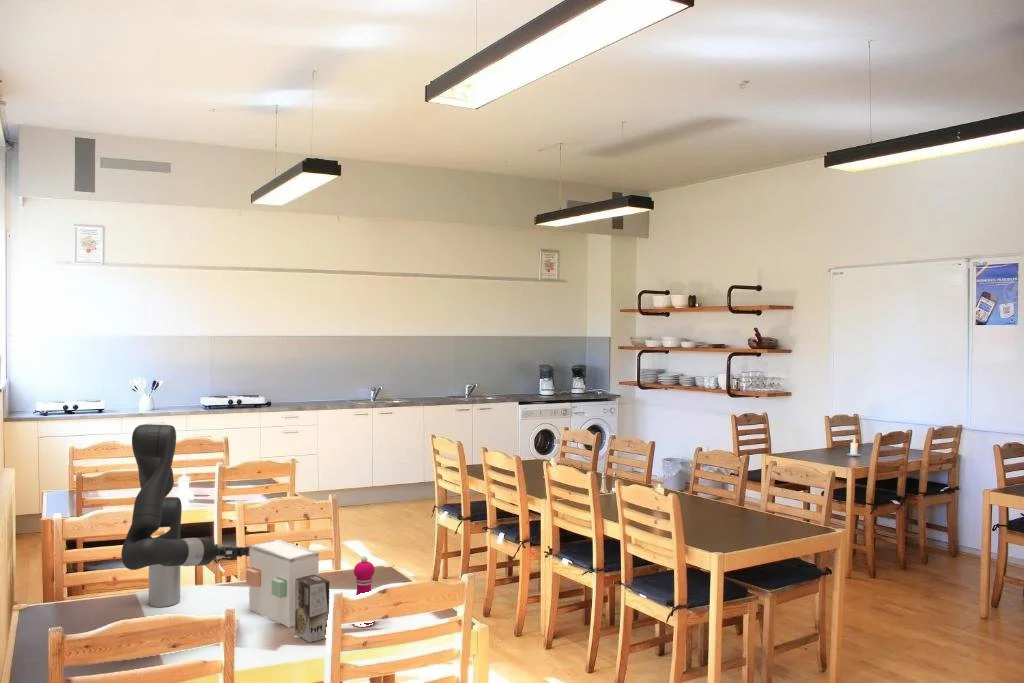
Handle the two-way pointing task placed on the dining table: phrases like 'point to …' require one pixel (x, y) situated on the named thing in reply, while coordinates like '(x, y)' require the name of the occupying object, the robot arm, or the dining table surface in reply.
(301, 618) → the coffee box
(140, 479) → the robot arm
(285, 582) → the sage button
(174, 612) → the dining table surface
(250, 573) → the terracotta button
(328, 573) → the dining table surface
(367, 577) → the pepper mill
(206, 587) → the dining table surface
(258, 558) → the button panel
